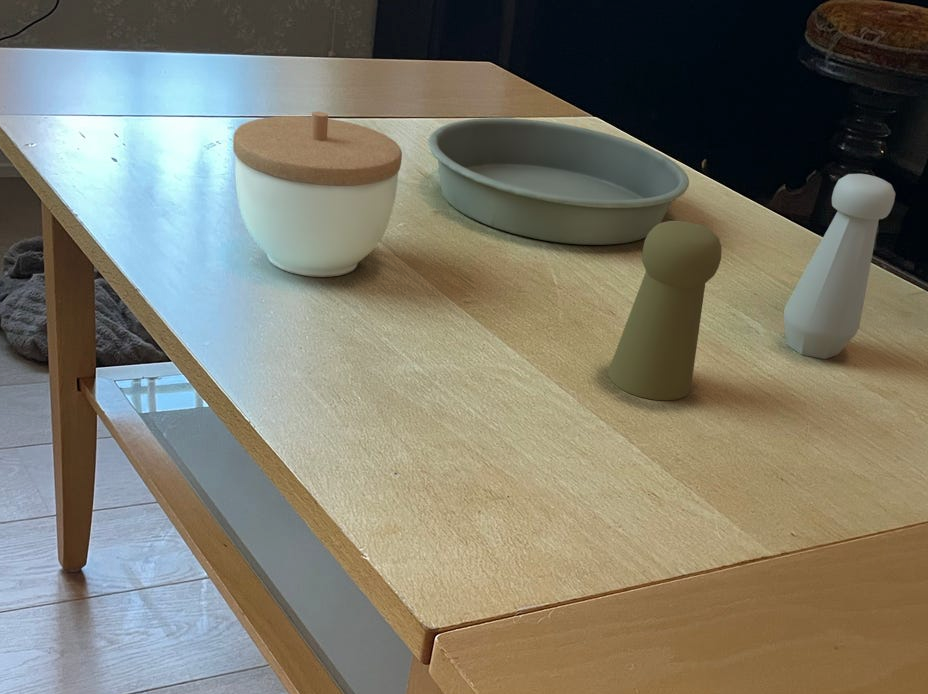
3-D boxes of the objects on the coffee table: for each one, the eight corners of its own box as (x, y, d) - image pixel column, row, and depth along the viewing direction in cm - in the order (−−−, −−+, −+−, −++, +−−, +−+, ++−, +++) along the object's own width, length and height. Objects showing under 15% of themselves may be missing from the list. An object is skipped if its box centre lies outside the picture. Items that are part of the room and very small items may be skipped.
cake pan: (731, 238, 110) (744, 189, 107) (528, 267, 97) (537, 213, 94) (568, 155, 124) (576, 110, 121) (374, 171, 112) (378, 121, 109)
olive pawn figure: (708, 392, 83) (753, 239, 76) (646, 406, 79) (686, 248, 73) (652, 356, 86) (689, 207, 79) (590, 368, 83) (624, 215, 76)
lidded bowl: (218, 230, 95) (218, 86, 88) (365, 229, 99) (376, 92, 92) (251, 293, 86) (254, 138, 79) (411, 289, 90) (427, 142, 83)
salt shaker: (807, 367, 88) (867, 194, 80) (760, 335, 92) (812, 166, 84) (863, 359, 91) (926, 191, 83) (814, 328, 94) (870, 164, 86)
